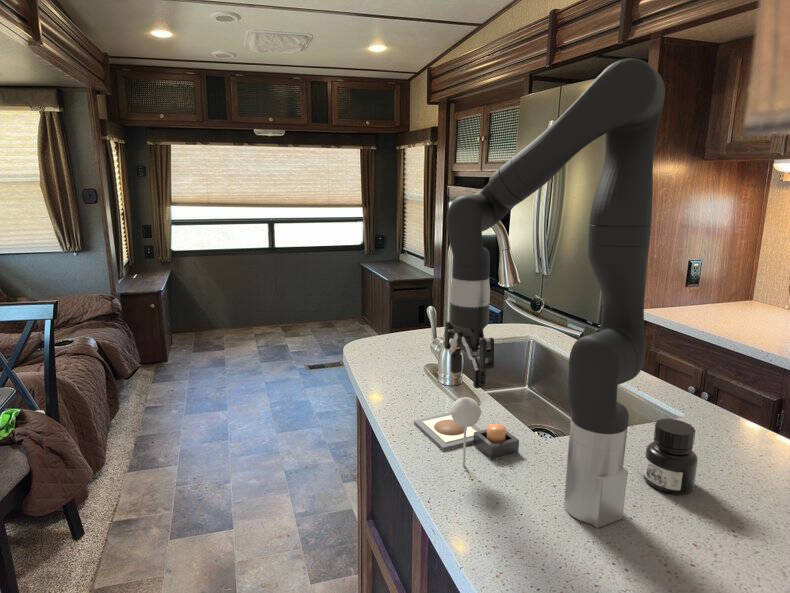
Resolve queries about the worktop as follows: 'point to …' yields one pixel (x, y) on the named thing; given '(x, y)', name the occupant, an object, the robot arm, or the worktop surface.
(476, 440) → the button housing
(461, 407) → the lollipop
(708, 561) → the worktop surface
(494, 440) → the button
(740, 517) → the worktop surface
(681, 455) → the ink bottle
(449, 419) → the board
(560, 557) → the worktop surface
